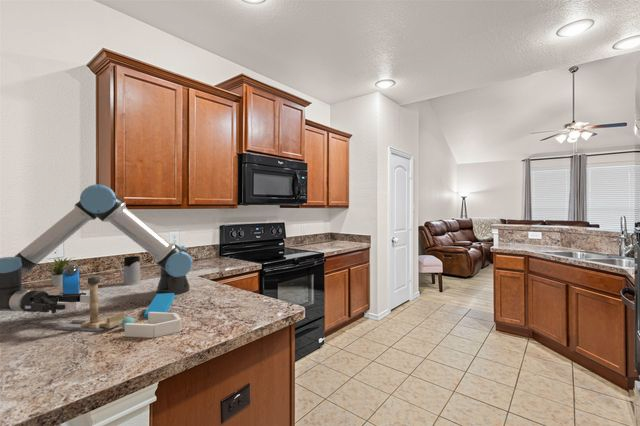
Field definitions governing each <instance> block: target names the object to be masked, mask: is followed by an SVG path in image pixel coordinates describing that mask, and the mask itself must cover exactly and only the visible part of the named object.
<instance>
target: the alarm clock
mask: <svg viewBox="0 0 640 426" xmlns="http://www.w3.org/2000/svg"><path fill="white" fill-rule="evenodd" d="M80 281H81V280H80V268H79V267H78V266H77V265H76V264H70V265H66V268H65V270H63V285H62V293H67V294H68V293H80V286H81V285H80Z"/></svg>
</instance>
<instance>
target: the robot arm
mask: <svg viewBox="0 0 640 426" xmlns="http://www.w3.org/2000/svg"><path fill="white" fill-rule="evenodd" d="M126 204H127V203H126V201H125V200H123V198H121V197H120V196H119V195H118V194H116V192H114V190H113V189H112V188H110V187H109V186H107V185H104V184H101V183H100V184H99V183H97V184H92V185H89V186H86V187H85V188H84V189H83V190H82V192H81V193H80V196H79V200H78V201H77V202H76V203H75V204H74V208H73V209H72V210H71V211H69V212H68V213H66V215H64V216H63V217H62V218H60V220H58V221H57V222H55V223H54V224H53V225H52V226H51V227H49V228H48V229H47V230H45V231H44V232H43V233H42V234H40V236H38V237H37V238H35V239H34V240H33V241H32V242H31V243H29V244H28V245H27V246H25V247H24V248H23V249H22V250H21V251H19V252H18V253H16V254H15V255H14V256H8V257H7V256H5V257H4V256H3V257H0V312H21V313H26V312H27V313H30V312H31V313H37V312H38V313H44V314H45V313H49V312H51V314H55V313H57V311H61V312H62V311H63V312H67V311H68V312H74V311H77V303H80V304H82V303H83V304H90V294H87V292H79V293H68V294H67V293H63V292H61V293H59V294H49V293H48V292H47V291H45V290H37V289H36V290H34V289H33V290H32V289H23V287H22V286H23V284H22V283H23V282H22V278H23V276H25V275H26V274H28V273H29V272H30V271H31V270H32V269H33V268H35V267H36V266H37V265H38V264H39V263H40V262H42V261H44V259H45V258H46V257H48V256H49V255H50V254H51V253H52V252H53V251H55V249H57V248H59V246H61V245H62V244H63V243H64V242H66V240H68V239H69V238H70V237H71V236H73V235H74V234H75V233H76V232H78V231H79V230H80V229H82V227H84V226H85V225H86V224H87V223H88V222H89V221H93V220H96V219H97V218H98V220H100V221H101V222H105V223H106V222H109V223H110V224H112V225H113V226H114V227H115V228H117V229H118V230H119V231H120V232H122V234H124V235H125V236H127V237H128V238H129V239H131V241H133V242H135V243H136V244H137V245H139V246H140V247H141V248H142V249H143V250H145V252H147V253H148V254H150V255H151V256H152V257H154V262H155V264H157V265H158V266H159V267H160V278H159V280H158V281H159V282H158V283H157V288H156V295H157V294H165V293H174V295H180V294H183V293H186V292H189V291H190V284H189V281H188V277H187V274H188V273H190V272H191V270H192V268H193V263H194V262H193V258H192V256H191V255H190V254H189V253H188V252H187V250H186V246H184V245H178V244H176V243H173V242H172V243H170V242H169V241H167V240H166V239H165V238H163V237H162V235H160V234H159V233H158V232H157V231H155V230H154V229H152V228H151V227H150V226H149V225H148V224H147V223H145V222H144V221H143V220H142V219H140V218H139V217H138V216H137V215H136V214H134V213H133V212H132V211H131V210H130V209H128V208H127V207H126V206H127V205H126Z"/></svg>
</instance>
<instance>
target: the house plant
mask: <svg viewBox="0 0 640 426" xmlns="http://www.w3.org/2000/svg"><path fill="white" fill-rule="evenodd" d="M75 258H76V257H74V259H75ZM72 259H73V257H72V258H71V257H70V258H69V259H67V257H65V258H64V259H63V258H61V259H60V257H59V256H57V257H56V259H55V258H54V259H53V261H54V265H53V264H52V263H51V262H48V264H49V265H50V266H51V267H49V266H47V268H48V269H46V271H48V272H51V273H52V274H50V278H51V282H52V286H53V287H61V285H62V286H63V270H65V268H66V267H67V265H68V264H69V263H71V262H72V261H74V260H72ZM44 262H45V263H47V261H46V260H44Z"/></svg>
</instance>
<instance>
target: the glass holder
mask: <svg viewBox="0 0 640 426" xmlns="http://www.w3.org/2000/svg"><path fill="white" fill-rule="evenodd" d="M140 257H141V256H138V255H134V256H133V255H132V256H125V257H124V258H120V259H119V260H118V267H119V270H120V272H121V274H122V276H123V284H122V285H123V286H136V285H139V283H140V284H141V283H142V281H141V260H140ZM121 261H123V269H122V266H121Z"/></svg>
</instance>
